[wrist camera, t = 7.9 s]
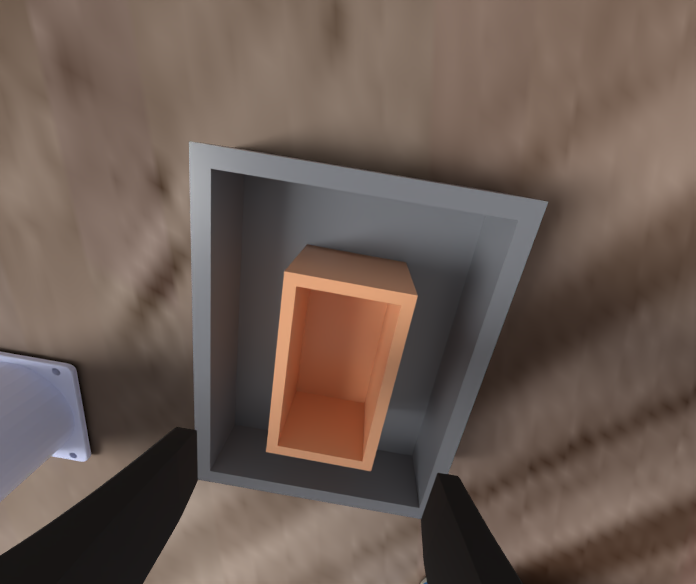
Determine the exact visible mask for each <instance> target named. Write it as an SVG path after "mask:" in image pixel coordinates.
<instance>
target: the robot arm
mask: <svg viewBox="0 0 696 584" xmlns="http://www.w3.org/2000/svg"><path fill="white" fill-rule="evenodd" d="M51 456H53V457H59V458H65V459H70V460H76V461H87V460H88V459H89V457H90V456H91V450H90V444H89V438H88V433H87V427H86V421H85V416H84V410H83V404H82V399H81V393H80V387H79V382H78V376H77V371H76V368H75V367H74V366H73V365H71V364H68V363H63V362H57V361H51V360H46V359H40V358H34V357H29V356H23V355H17V354H11V353H6V352H0V502H1V501H2V500H3V499H4V498H5V497H6V496H7V495H9V494H10V493H11V492H12V491H13V490H14V489H15V488H16V487H17V486H19V485H20V484H21V483H22V482H23V481H24V480H25V479H26V478H27V477H29V476H30V475H31V474H32V473H33V472H34V471H35V470H36V469H37V468H39V467H40V466H41V465H42V464H43V463H44V462H45V461H46V460H47V459H49V458H50V457H51ZM197 481H198V461H197V430H191V429H185V428H180V427H176V428H175V429H173V430H172V431H171V432H169V433H168V434H167V435H166V436H164V437H163V438H162V439H161V440H159V441H158V442H157V443H156V444H154V445H153V446H152V447H151V448H149V449H148V450H147V451H146V452H144V453H143V454H142V455H141V456H139V457H138V458H137V459H136V460H134V461H133V462H132V463H130V464H129V465H128V466H127V467H125V468H124V469H123V470H121V471H120V472H119V473H117V474H116V475H115V476H114V477H112V478H111V479H110V480H108V481H107V482H106V483H104V484H103V485H102V486H100V487H99V488H98V489H96V490H95V491H94V492H92V493H91V494H90V495H88V496H87V497H86V498H84V499H83V500H81V501H80V502H79V503H77V504H76V505H74V506H73V507H71V508H70V509H69V510H67V511H66V512H64V513H63V514H62V515H60V516H59V517H57V518H56V519H55V520H53V521H52V522H50V523H49V524H47V525H46V526H44V527H43V528H42V529H40V530H39V531H37V532H36V533H34V534H33V535H31V536H30V537H28V538H27V539H25V540H24V541H22V542H21V543H19V544H17V545H16V546H14V547H13V548H11V549H10V550H8V551H7V552H5V553H3V554H2V555H0V584H143V582H144V581H145V579H146V577H147V575H148V574H149V572H150V570H151V569H152V567H153V565H154V563H155V562H156V560H157V558H158V557H159V555H160V553H161V551H162V550H163V548H164V546H165V544H166V543H167V541H168V539H169V537H170V536H171V534H172V532H173V531H174V529H175V527H176V525H177V523H178V522H179V520H180V518H181V516H182V514H183V512H184V510H185V507H186V505H187V503H188V501H189V499H190V497H191V494H192V492H193V490H194V488H195V485H196V483H197ZM421 527H422V544H423V558H424V566H425V573H426V579H427V584H523V583H522V581H521V580H520V578H519V577H518V575H517V574H516V572H515V570H514V569H513V567H512V566H511V564H510V562H509V561H508V559H507V558H506V556H505V554H504V553H503V551H502V550H501V548H500V546H499V545H498V543H497V542H496V540H495V538H494V537H493V535H492V533H491V532H490V530H489V528H488V527H487V525H486V523H485V521H484V520H483V518H482V516H481V515H480V513H479V511H478V509H477V508H476V506H475V504H474V503H473V501H472V499H471V497H470V496H469V494H468V492H467V490H466V488H465V487H464V485H463V483H462V481H461V480H460V478H459V477H458V476H454V475H449V474H443V473H437V475H436V478H435V481H434V484H433V487H432V490H431V492H430V495H429V498H428V501H427V504H426V507H425V509H424V512H423V515H422V518H421Z"/></svg>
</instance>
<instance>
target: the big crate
mask: <svg viewBox="0 0 696 584" xmlns="http://www.w3.org/2000/svg"><path fill="white" fill-rule="evenodd" d="M189 169H190V219H191V269H192V319H193V369H194V419H195V430H197V461H198V480H204V481H209V482H215V483H221V484H226V485H232V486H238V487H243V488H249V489H255V490H260V491H266V492H271V493H277V494H283V495H288V496H294V497H300V498H305V499H311V500H317V501H322V502H328V503H334V504H339V505H345V506H350V507H356V508H362V509H367V510H373V511H379V512H384V513H390V514H396V515H401V516H407V517H413V518H418V519H421V518H422V515H423V512H424V509H425V507H426V504H427V501H428V498H429V495H430V492H431V490H432V487H433V484H434V481H435V478H436V475H437V473H443V474H448V472H449V470H450V467H451V464H452V462H453V459H454V456H455V453H456V451H457V448H458V445H459V443H460V440H461V437H462V434H463V432H464V429H465V426H466V424H467V421H468V418H469V416H470V413H471V410H472V407H473V405H474V402H475V399H476V397H477V394H478V391H479V388H480V386H481V383H482V380H483V378H484V375H485V372H486V369H487V367H488V364H489V361H490V359H491V356H492V353H493V351H494V348H495V345H496V342H497V340H498V337H499V334H500V332H501V329H502V326H503V323H504V321H505V318H506V315H507V313H508V310H509V307H510V305H511V302H512V299H513V296H514V294H515V291H516V288H517V286H518V283H519V280H520V277H521V275H522V272H523V269H524V267H525V264H526V261H527V258H528V256H529V253H530V250H531V248H532V245H533V242H534V240H535V237H536V234H537V231H538V229H539V226H540V223H541V221H542V218H543V215H544V212H545V210H546V207H547V204H548V202H547V201H542V200H537V199H532V198H527V197H522V196H517V195H512V194H507V193H501V192H495V191H489V190H483V189H477V188H471V187H465V186H459V185H453V184H447V183H442V182H436V181H430V180H424V179H418V178H412V177H406V176H400V175H394V174H388V173H382V172H376V171H370V170H364V169H358V168H352V167H346V166H340V165H334V164H328V163H323V162H317V161H311V160H305V159H299V158H293V157H287V156H281V155H275V154H269V153H263V152H257V151H251V150H245V149H239V148H233V147H226V146H219V145H212V144H205V143H198V142H190V141H189ZM306 245H313V246H318V247H324V248H329V249H335V250H340V251H346V252H351V253H357V254H362V255H368V256H373V257H379V258H384V259H390V260H395V261H401V262H406V264H407V266H408V269H409V272H410V275H411V278H412V281H413V283H414V286H415V289H416V292H417V295H418V297H417V301H416V304H415V308H414V312H413V316H412V319H411V323H410V327H409V331H408V334H407V338H406V342H405V346H404V349H403V353H402V357H401V361H400V365H399V368H398V372H397V376H396V380H395V383H394V387H393V391H392V395H391V398H390V402H389V406H388V410H387V413H386V417H385V421H384V425H383V428H382V432H381V436H380V440H379V443H378V447H377V451H376V455H375V458H374V462H373V466H372V470H371V471H366V470H361V469H356V468H350V467H345V466H339V465H334V464H329V463H323V462H318V461H312V460H307V459H302V458H296V457H291V456H285V455H280V454H275V453H269V452H266V447H267V437H268V428H269V418H270V408H271V398H272V388H273V378H274V368H275V358H276V348H277V339H278V329H279V319H280V309H281V299H282V289H283V279H284V271H285V270H286V269H287V268H288V266H289V265H290V264H291V263H292V262H293V260H294V259H295V258H296V257H297V256H298V254H299V253H300V252H301V251H302V250H303V249H304V247H305V246H306Z"/></svg>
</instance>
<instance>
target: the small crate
mask: <svg viewBox="0 0 696 584" xmlns="http://www.w3.org/2000/svg"><path fill="white" fill-rule="evenodd" d="M417 297H418V295H417V292H416V289H415V286H414V283H413V281H412V278H411V275H410V272H409V269H408V266H407V264H406V262H401V261H395V260H390V259H384V258H379V257H373V256H368V255H362V254H357V253H351V252H346V251H340V250H335V249H329V248H324V247H318V246H313V245H306V246H305V247H304V249H303V250H302V251H301V252H300V253H299V254H298V256H297V257H296V258H295V259H294V260H293V262H292V263H291V264H290V265H289V266H288V268H287V269H286V270H285V271H284V279H283V289H282V299H281V309H280V319H279V329H278V339H277V348H276V358H275V368H274V378H273V388H272V398H271V408H270V418H269V428H268V437H267V447H266V452H269V453H275V454H280V455H285V456H291V457H296V458H302V459H307V460H312V461H318V462H323V463H329V464H334V465H339V466H345V467H350V468H356V469H361V470H366V471H371V470H372V466H373V462H374V458H375V455H376V451H377V447H378V443H379V440H380V436H381V432H382V428H383V425H384V421H385V417H386V413H387V410H388V406H389V402H390V398H391V395H392V391H393V387H394V383H395V380H396V376H397V372H398V368H399V365H400V361H401V357H402V353H403V349H404V346H405V342H406V338H407V334H408V331H409V327H410V323H411V319H412V316H413V312H414V308H415V304H416V301H417Z"/></svg>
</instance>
